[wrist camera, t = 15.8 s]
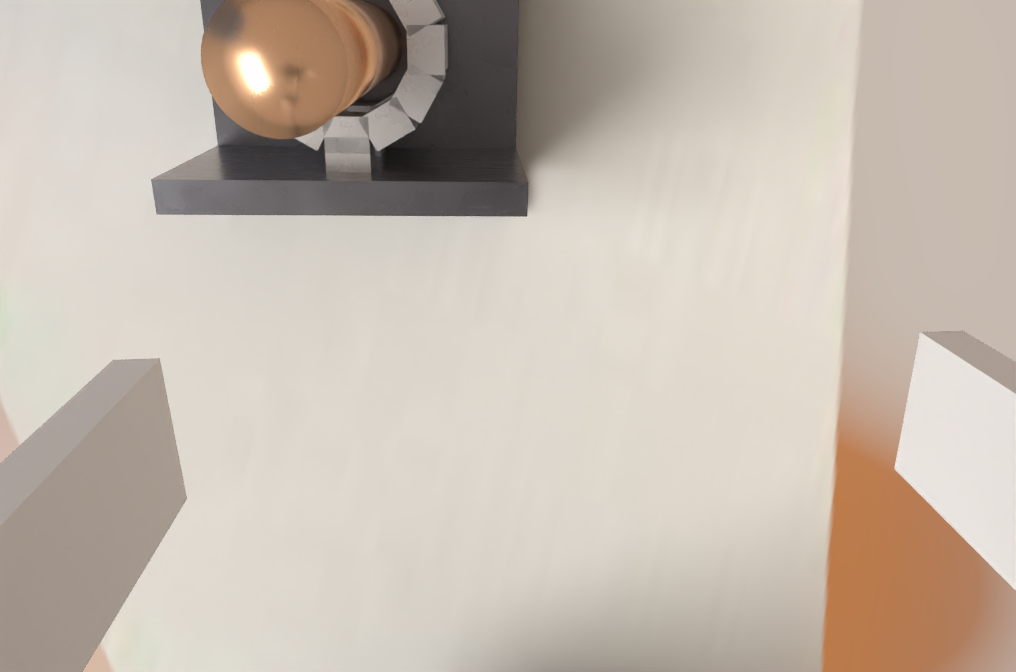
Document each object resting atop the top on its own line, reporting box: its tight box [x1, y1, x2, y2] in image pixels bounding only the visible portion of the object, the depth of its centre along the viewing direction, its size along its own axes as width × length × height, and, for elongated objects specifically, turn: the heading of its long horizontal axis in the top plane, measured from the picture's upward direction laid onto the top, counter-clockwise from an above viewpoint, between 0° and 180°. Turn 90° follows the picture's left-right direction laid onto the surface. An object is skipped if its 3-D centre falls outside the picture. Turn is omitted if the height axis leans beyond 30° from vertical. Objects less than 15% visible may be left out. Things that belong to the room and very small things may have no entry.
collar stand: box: [151, 0, 528, 216], centre depth 36 cm, size 18×16×10 cm
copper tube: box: [201, 0, 403, 139], centre depth 31 cm, size 4×4×20 cm
